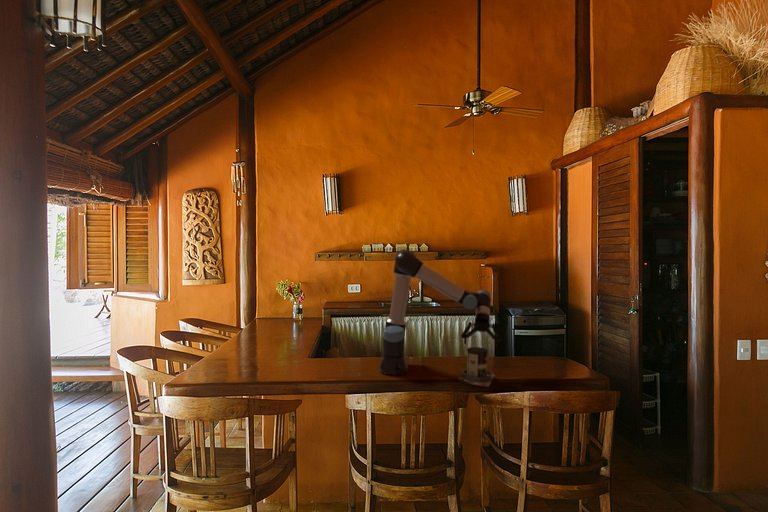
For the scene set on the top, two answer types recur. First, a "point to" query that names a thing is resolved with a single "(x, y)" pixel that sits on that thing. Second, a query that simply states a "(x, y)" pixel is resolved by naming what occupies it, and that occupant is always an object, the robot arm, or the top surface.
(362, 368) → the top surface
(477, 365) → the coffee can
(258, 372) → the top surface
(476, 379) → the collar board
